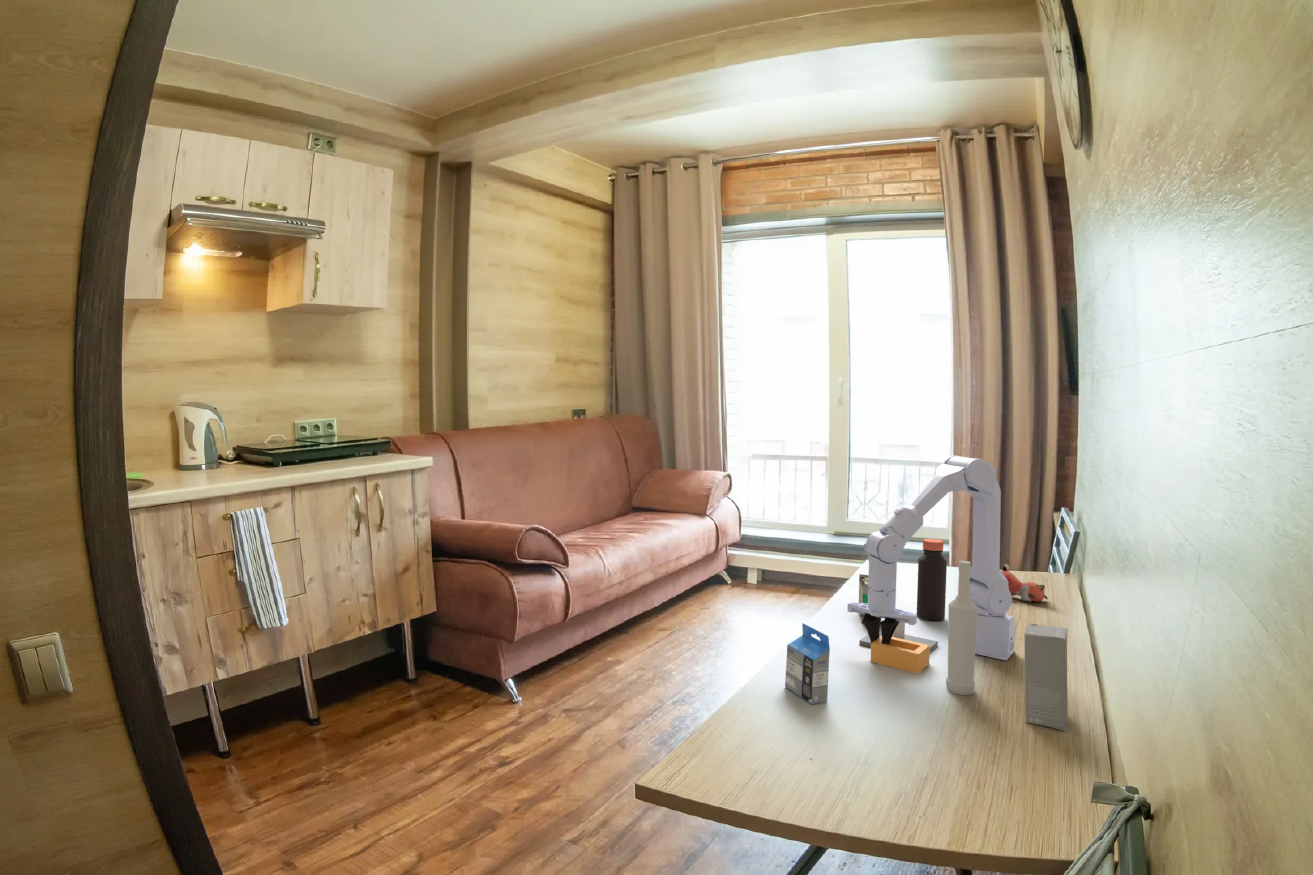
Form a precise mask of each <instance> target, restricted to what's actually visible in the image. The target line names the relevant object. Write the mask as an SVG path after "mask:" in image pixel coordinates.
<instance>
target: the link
mask: <svg viewBox="0 0 1313 875" xmlns="http://www.w3.org/2000/svg"><path fill="white" fill-rule="evenodd" d="M929 652H930V645H927V644H922V643H918V642H913V641H909V640H904V639H900V638H895V637H892V638H891V641H890V644H889V645H886V644H882V636H881V637H880V638H878V639H877V640H875V641H874V642H872V643H871V647H870V662H871V663H874V664H878V663H880V664H879V665H882V664H883V665H882V666H886V667H890V668H895V669H899V670H902V671H906V672H911V673H914V674H919V673H920V672H922V671H923V670H924V669H925V668H926V667H927V666H928V665H929V664H930V653H931V652H930V653H929Z"/></svg>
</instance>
